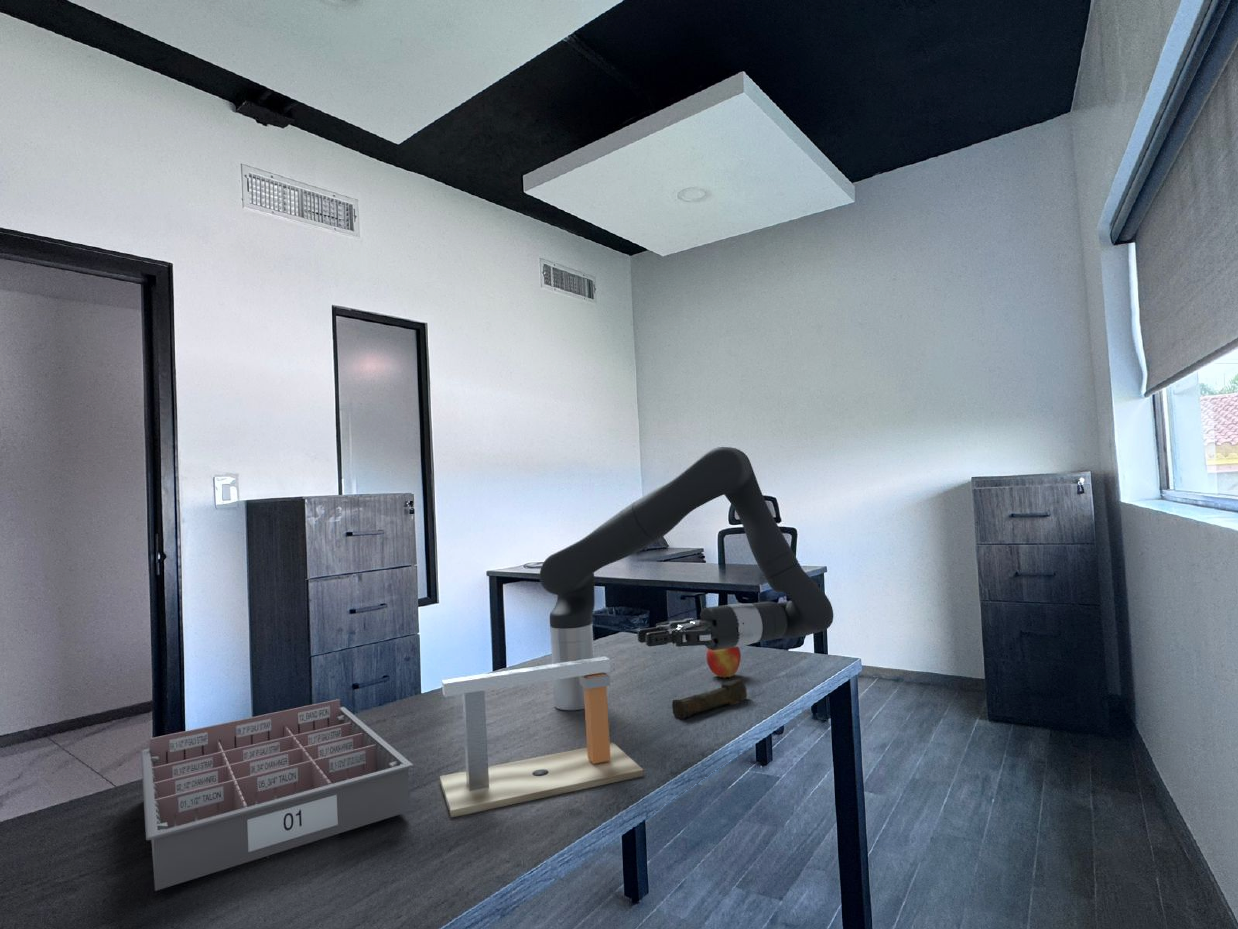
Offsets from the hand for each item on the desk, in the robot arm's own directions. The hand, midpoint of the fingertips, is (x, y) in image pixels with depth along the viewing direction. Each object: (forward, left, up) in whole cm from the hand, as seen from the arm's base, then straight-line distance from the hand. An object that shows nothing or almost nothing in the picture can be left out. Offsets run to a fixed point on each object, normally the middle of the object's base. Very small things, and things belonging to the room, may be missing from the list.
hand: (642, 638), depth 120 cm
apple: (-38, +36, -20) cm, 56 cm away
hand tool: (-18, +22, -20) cm, 35 cm away
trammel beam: (0, -20, -19) cm, 28 cm away
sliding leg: (0, -9, -19) cm, 21 cm away
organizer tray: (-10, -59, -20) cm, 63 cm away
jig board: (0, -19, -20) cm, 28 cm away
